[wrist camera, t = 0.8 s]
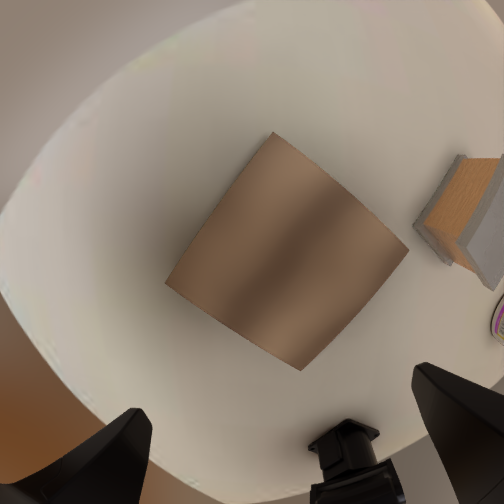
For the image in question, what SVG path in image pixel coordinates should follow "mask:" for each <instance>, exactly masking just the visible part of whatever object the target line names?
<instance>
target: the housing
mask: <svg viewBox="0 0 504 504" xmlns="http://www.w3.org/2000/svg"><path fill="white" fill-rule="evenodd" d="M413 228H414V229H415V230H416V231H417V232H418V233H419V234H420V235H421V236H422V238H423V239H424V240H425V241H426V242H427V243H428V244H429V246H430V247H431V248H432V249H433V250H434V252H435V253H436V254H437V255H438V256H439V258H440V259H441V260H442V261H443V262H444V263H445V264H447V265H449V266H451V265H452V263H453V262H455V263H457V264H459V265H461V266H463V267H465V268H467V269H468V270H470V271H472V272H474V273H476V274H477V276H478V277H479V279H480V280H481V282H482V284H483V285H484V286H485V287H487V288H489V289H490V290H492V291H494V290H495V288H496V287H497V285H498V283H499V282H500V280H501V279H502V277H503V275H504V154H502V156H501V158H474V159H468V158H467V156H466V155H457V157H456V158H455V160H454V162H453V164H452V165H451V167H450V169H449V171H448V172H447V174H446V176H445V177H444V179H443V180H442V182H441V184H440V185H439V187H438V189H437V190H436V192H435V193H434V195H433V196H432V198H431V199H430V201H429V203H428V204H427V206H426V207H425V209H424V210H423V211H422V213H421V214H420V216H419V217H418V219H417V220H416V222H415V223H414V225H413Z"/></svg>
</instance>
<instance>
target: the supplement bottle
mask: <svg viewBox="0 0 504 504" xmlns="http://www.w3.org/2000/svg"><path fill="white" fill-rule="evenodd" d="M492 334H493V336H494V337H495V338H496V339H497V340H498V341H499V342H500V343H501V344H502V345H503V346H504V297H503V298H502V300H501V301H500V303H499V305H498V307H497V309H496V311H495V314H494V317H493V320H492Z"/></svg>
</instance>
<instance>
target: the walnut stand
mask: <svg viewBox="0 0 504 504" xmlns="http://www.w3.org/2000/svg"><path fill="white" fill-rule="evenodd" d="M408 252H409V249H408V248H407V247H406V246H405V245H404V244H403V243H402V242H401V241H400V240H399V239H398V238H397V237H396V236H395V235H394V234H393V233H392V232H391V231H390V230H389V229H388V228H387V227H386V226H385V225H384V224H383V223H382V222H381V221H380V220H379V219H378V218H377V217H376V216H375V215H374V214H373V213H372V212H371V211H369V210H368V209H367V208H366V207H365V206H364V205H363V204H362V203H361V202H360V201H359V200H357V199H356V198H355V197H354V196H353V195H352V194H351V193H350V192H348V191H347V190H346V189H345V188H344V187H343V186H342V185H340V184H339V183H338V182H337V181H336V180H335V179H333V178H332V177H331V176H330V175H329V174H327V173H326V172H325V171H324V170H322V169H321V168H320V167H319V166H318V165H316V164H315V163H314V162H313V161H311V160H310V159H309V158H307V157H306V156H305V155H304V154H302V153H301V152H300V151H298V150H297V149H296V148H295V147H293V146H292V145H291V144H289V143H288V142H287V141H285V140H284V139H282V138H281V137H280V136H278V135H277V134H276V133H274V132H272V134H271V135H270V136H269V137H268V139H267V140H266V141H265V143H264V144H263V145H262V146H261V148H260V149H259V150H258V152H257V153H256V154H255V155H254V157H253V158H252V159H251V161H250V162H249V163H248V165H247V166H246V167H245V169H244V170H243V171H242V173H241V174H240V175H239V177H238V178H237V179H236V181H235V182H234V183H233V185H232V186H231V187H230V189H229V190H228V191H227V193H226V194H225V196H224V197H223V198H222V200H221V201H220V202H219V204H218V205H217V207H216V208H215V209H214V211H213V212H212V214H211V215H210V216H209V218H208V219H207V221H206V222H205V224H204V225H203V226H202V228H201V229H200V231H199V232H198V234H197V235H196V237H195V238H194V240H193V241H192V242H191V244H190V245H189V247H188V248H187V250H186V251H185V253H184V254H183V256H182V257H181V259H180V260H179V262H178V263H177V265H176V266H175V268H174V269H173V271H172V272H171V274H170V276H169V277H168V279H167V280H166V282H165V284H166V285H168V286H169V287H170V288H172V289H173V290H175V291H176V292H177V293H179V294H180V295H182V296H183V297H184V298H186V299H187V300H189V301H190V302H191V303H193V304H194V305H196V306H197V307H199V308H200V309H202V310H203V311H204V312H206V313H207V314H209V315H210V316H212V317H213V318H215V319H216V320H218V321H219V322H221V323H222V324H224V325H225V326H227V327H228V328H230V329H232V330H233V331H235V332H236V333H238V334H239V335H241V336H242V337H244V338H246V339H247V340H249V341H250V342H252V343H254V344H255V345H257V346H258V347H260V348H262V349H263V350H265V351H267V352H268V353H270V354H272V355H273V356H275V357H277V358H278V359H280V360H282V361H283V362H285V363H287V364H289V365H290V366H292V367H294V368H296V369H297V370H299V371H301V370H303V369H304V368H305V367H306V366H307V365H308V364H309V363H310V362H311V361H312V360H313V359H314V358H315V357H316V356H317V355H318V354H319V353H320V352H321V351H322V350H323V349H324V348H325V347H326V346H327V345H328V344H329V343H330V342H331V341H332V340H333V339H334V338H335V337H336V336H337V335H338V334H339V333H340V332H341V331H342V330H343V329H344V328H345V327H346V326H347V325H348V324H349V322H350V321H351V320H352V319H353V318H354V317H355V316H356V315H357V314H358V313H359V312H360V310H361V309H362V308H363V307H364V306H365V305H366V304H367V302H368V301H369V300H370V299H371V298H372V297H373V296H374V294H375V293H376V292H377V291H378V290H379V288H380V287H381V286H382V285H383V284H384V282H385V281H386V280H387V279H388V277H389V276H390V275H391V274H392V272H393V271H394V270H395V269H396V267H397V266H398V265H399V263H400V262H401V261H402V260H403V258H404V257H405V256H406V254H407V253H408Z"/></svg>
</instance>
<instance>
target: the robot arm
mask: <svg viewBox="0 0 504 504" xmlns="http://www.w3.org/2000/svg"><path fill="white" fill-rule="evenodd" d="M411 387H412V391H413V394H414V396H415V399H416V402H417V405H418V407H419V410H420V413H421V416H422V419H423V421H424V424H425V427H426V429H427V431H428V433H429V435H430V437H431V439H432V441H433V443H434V446H435V448H436V450H437V452H438V454H439V456H440V458H441V461H442V463H443V465H444V467H445V470H446V472H447V474H448V477H449V479H450V482H451V484H452V486H453V489H454V491H455V494H456V496H457V499H458V501H459V504H504V395H502V394H499V393H497V392H495V391H492V390H490V389H488V388H485V387H483V386H480V385H478V384H476V383H473V382H471V381H469V380H467V379H464V378H462V377H460V376H457V375H455V374H453V373H451V372H448V371H446V370H444V369H442V368H439V367H437V366H435V365H433V364H430V363H428V362H423V363H421V364H418V365H416V366H415V367H414V371H413V377H412V383H411ZM379 435H380V433H379V431H378V430H375V429H372V428H370V427H367V426H365V425H362V424H360V423H357V422H355V421H352V420H345V421H344V422H342V423H341V424H340V425H338V426H337V427H336V428H334V429H333V430H331V431H330V432H329V433H327V434H326V435H324V436H323V437H321V438H320V439H318V440H317V441H315V442H314V443H312V444H311V445H309V446H308V450H309V451H311V452H315V453H318V456H319V462H320V469H321V470H322V472H323V478H324V482H323V483H319V484H312V485H311V490H310V504H406V500H405V496H404V493H403V489H402V486H401V483H400V480H399V478H398V475H397V473H396V471H395V468H394V466H393V463H392V461H391V459H390V458H389V459H387V460H386V461H384V462H381V463H379V464H378V462H377V459H376V456H375V453H374V450H373V447H372V444H371V441H372V440H374V439H375V438H376V437H378V436H379ZM151 436H152V424H151V422H150V420H149V419H148V417H147V416H146V414H145V413H144V411H143V410H142V409H141V408H130V409H128V410H127V411H126V412H124V413H123V414H122V415H120V416H119V417H118V418H116V419H115V420H113V421H112V422H111V423H109V424H108V425H107V426H105V427H104V428H103V429H101V430H100V431H98V432H97V433H96V434H94V435H93V436H91V437H90V438H89V439H87V440H86V441H84V442H83V443H81V444H80V445H79V446H77V447H76V448H74V449H73V450H71V451H70V452H68V453H67V454H65V455H64V456H63V457H61V458H59V459H58V460H56V461H55V462H53V463H52V464H50V465H48V466H47V467H45V468H43V469H42V470H40V471H38V472H36V473H34V474H32V475H30V476H28V477H26V478H24V479H22V480H19V481H17V482H15V483H11V484H0V504H139V500H140V495H141V491H142V487H143V482H144V478H145V474H146V469H147V465H148V459H149V452H150V444H151Z"/></svg>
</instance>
